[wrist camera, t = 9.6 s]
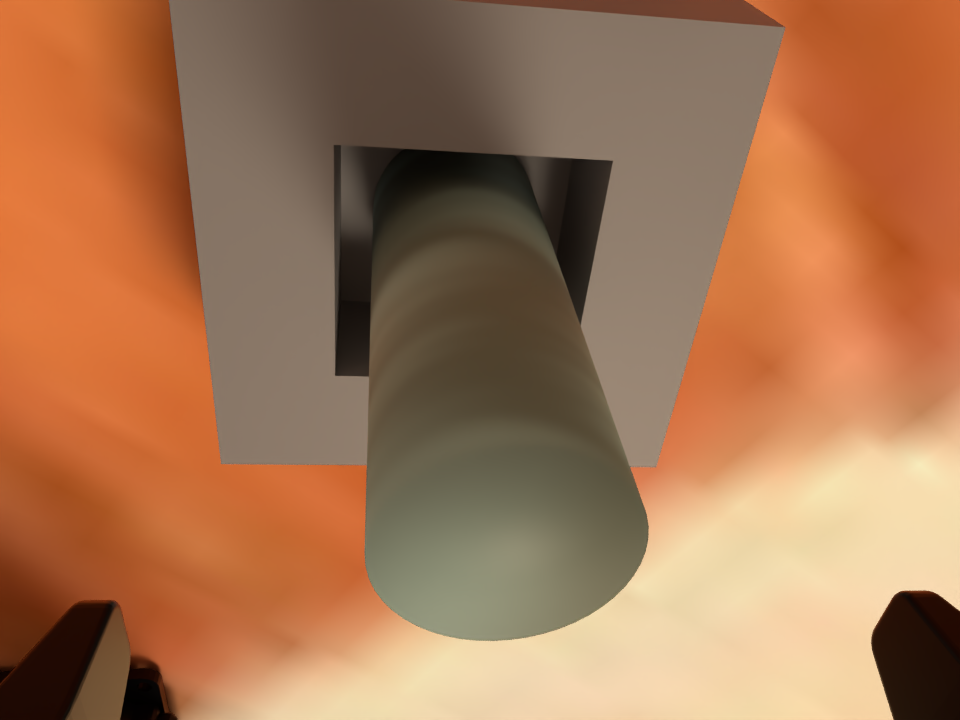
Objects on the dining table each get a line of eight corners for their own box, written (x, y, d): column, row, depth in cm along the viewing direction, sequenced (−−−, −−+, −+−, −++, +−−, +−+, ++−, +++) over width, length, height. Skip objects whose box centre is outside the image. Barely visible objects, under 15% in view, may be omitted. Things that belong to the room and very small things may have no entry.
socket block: (245, 359, 22) (221, 463, 18) (210, -67, 16) (166, -23, 13) (617, 367, 23) (656, 467, 20) (709, -22, 17) (785, 27, 14)
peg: (371, 277, 19) (362, 644, 11) (375, 127, 17) (367, 443, 9) (522, 282, 20) (618, 638, 12) (543, 136, 18) (677, 447, 10)
